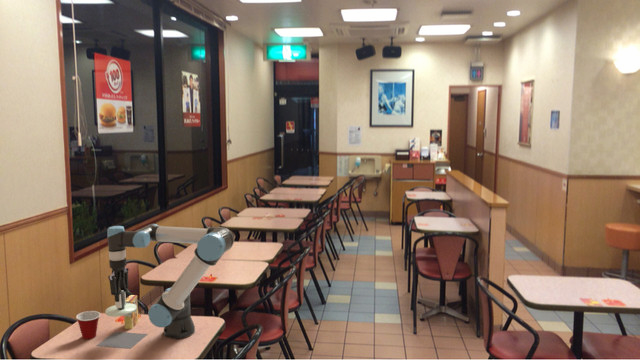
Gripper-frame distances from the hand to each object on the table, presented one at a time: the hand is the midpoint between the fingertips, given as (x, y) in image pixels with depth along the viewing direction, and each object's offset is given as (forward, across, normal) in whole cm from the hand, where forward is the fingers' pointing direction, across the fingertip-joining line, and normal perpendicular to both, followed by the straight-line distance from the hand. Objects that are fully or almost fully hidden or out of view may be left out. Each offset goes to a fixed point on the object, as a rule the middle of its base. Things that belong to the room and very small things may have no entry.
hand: (121, 306), depth 238 cm
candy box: (+18, -16, -5) cm, 25 cm away
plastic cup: (+18, 0, -18) cm, 26 cm away
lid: (+2, 0, 0) cm, 2 cm away
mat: (+18, 0, 0) cm, 18 cm away
